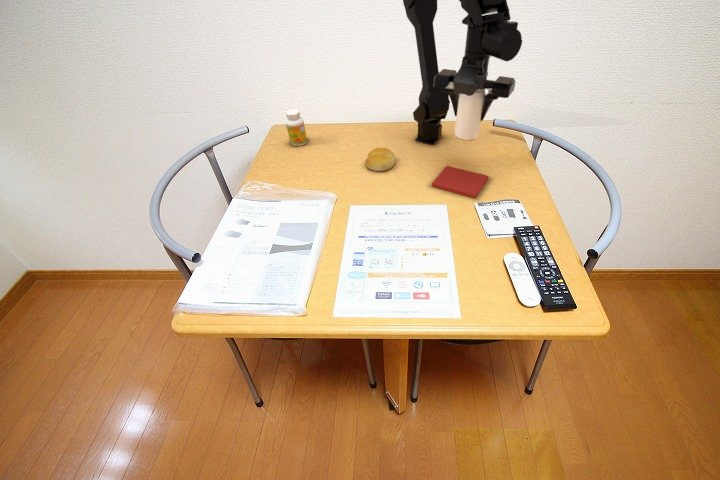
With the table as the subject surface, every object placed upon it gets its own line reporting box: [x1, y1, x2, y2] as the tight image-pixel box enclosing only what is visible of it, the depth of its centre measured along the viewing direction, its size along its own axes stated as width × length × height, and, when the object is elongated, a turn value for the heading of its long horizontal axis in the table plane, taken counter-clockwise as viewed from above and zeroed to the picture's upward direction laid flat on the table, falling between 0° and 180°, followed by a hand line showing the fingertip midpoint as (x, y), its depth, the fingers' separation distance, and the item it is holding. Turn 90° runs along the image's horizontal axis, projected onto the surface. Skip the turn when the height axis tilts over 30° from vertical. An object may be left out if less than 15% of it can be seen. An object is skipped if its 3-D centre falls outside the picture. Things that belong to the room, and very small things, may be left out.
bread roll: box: [364, 146, 396, 172], centre depth 103 cm, size 8×9×4 cm
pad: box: [431, 165, 489, 199], centre depth 96 cm, size 12×10×1 cm
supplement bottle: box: [285, 108, 308, 147], centre depth 112 cm, size 5×5×10 cm
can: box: [453, 88, 487, 142], centre depth 93 cm, size 6×6×12 cm
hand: (468, 118), depth 94 cm, fingers closed on can, 6 cm apart
